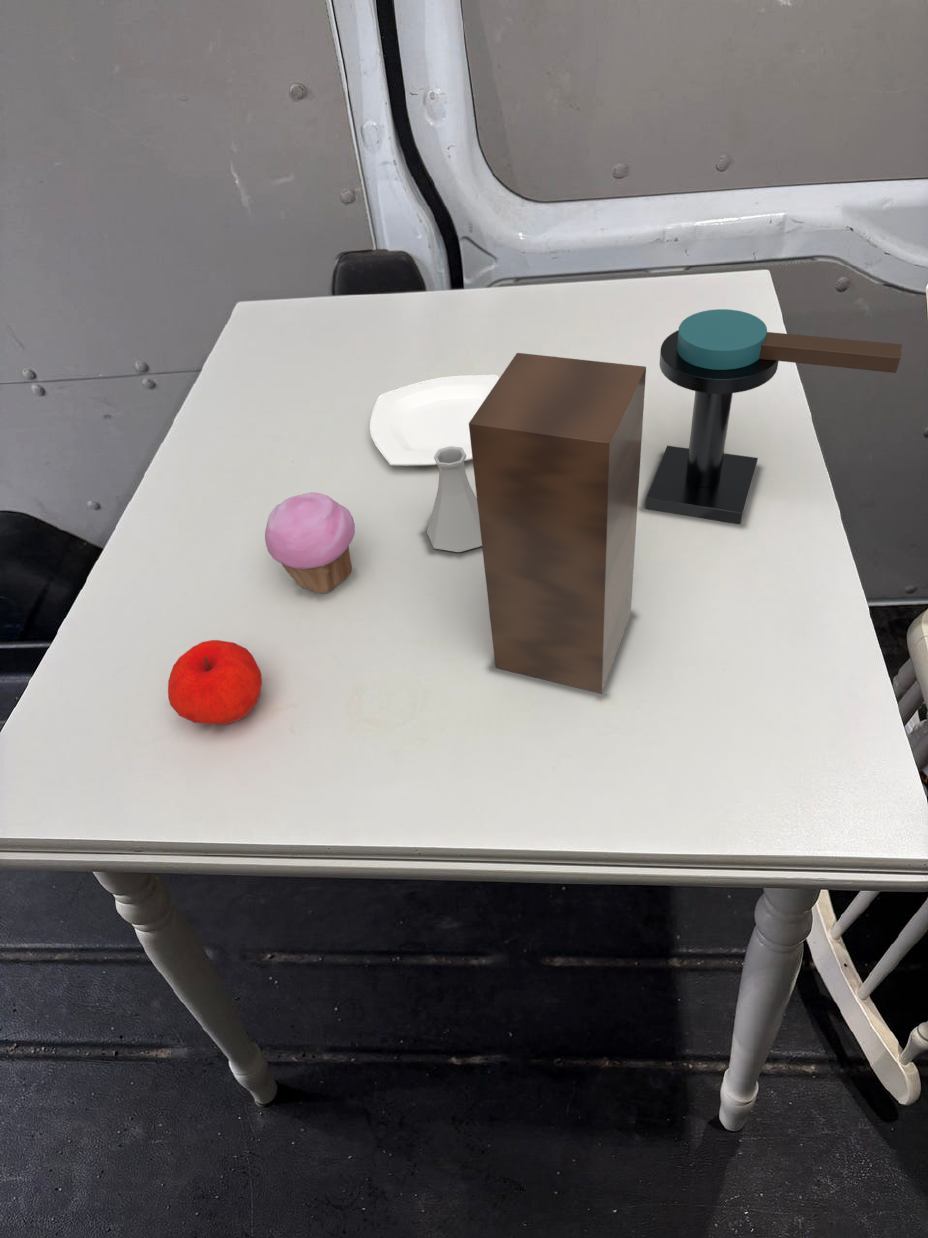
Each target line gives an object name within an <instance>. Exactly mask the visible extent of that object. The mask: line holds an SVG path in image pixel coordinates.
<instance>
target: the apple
mask: <svg viewBox="0 0 928 1238" xmlns="http://www.w3.org/2000/svg"><path fill="white" fill-rule="evenodd" d="M262 679H263V678H262V671H261V669H260V667H259V665H258V664H257V661H256V660H255V657H254V656H253V654H252V653H251V652H250V650H248V648H246V647H245V646H242V645H240V644H237V643H236V642H234V641H233V642H232V641H226V640H219V639H212V640H207V641H206V640H205V641H202V642H199V643H197V644H196V645H193V646H192V647H190V649H188V650H187V651H185V652H184V653H182V655H180V656H179V657H178V658H177V660H176V662H175V663H174V664H173V665H172V668H171V671H170V673H169V677H168V683H167V699H168V701H169V705H170V706H171V708H172V709H173V711H175V713H176V714H177V715H178V716H179V717H182V718H183V719H186V720H187V721H190V722H192V723H193V724H202V725H203V724H205V725H216V726H217V725H226V724H232V723H234V722H237V721H240V720H242V719H243V718H244V717H246V716H247V715H248V714H249V713H250V712H251V711H252V710H253V708H254V707H255V706H256V704H257V703H258V700H259V698H260V696H261V692H262V691H261V690H262V683H263V681H262Z"/></svg>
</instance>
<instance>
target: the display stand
mask: <svg viewBox="0 0 928 1238" xmlns="http://www.w3.org/2000/svg"><path fill="white" fill-rule="evenodd" d="M678 330H679V329H678ZM678 330H675V331H674V332H672V333H670V334H669V335H668V336H666V338H665V339H664V340H663V341H662V343H661V346H660V351H659V369H660V371H661V373H662V374H663V376H664V377H665V378H666V379H667V380H668V381H670V382H671V383H672V384H675V385H677V386H678V387H680V388H683V389H686V390H690V391H693V392H694V400H693V406H692V407H693V408H692V417H691V426H690V436H689V444H688V447H683V446H674V445H666V447H665V449H664V452H663V455H662V457H661V460H660V461H659V463H658V467H657V470H656V472H655V474H654V477H653V479H652V482H651V485H650V487H649V490H648V492H647V495H646V497H645V505H644V506H645V509H646V510H652V511H657V512H662V513H663V512H664V513H670V514H675V515H683V516H688V517H692V518H693V517H694V518H700V519H706V520H712V521H718V522H723V523H730V524H736V525H742V521H743V518H744V514H745V510H746V506H747V503H748V499H749V496H750V493H751V488H752V485H753V481H754V477H755V474H756V470H757V465H758V460H759V457H754V456H748V455H739V454H738V455H737V454H732V453H726V452H725V449H726V443H727V436H728V428H729V421H730V415H731V408H732V401H733V394H736V393H742V392H747V391H750V390H753V389H756V388H758V387H761V386H763V385H764V384H767V383H768V382H770V380H771V379H772V378H773V377H774V375H775V374H776V373H777V371H778V366H779V362H780V361H774V360H764V359H758V360H757V361H756V362H754V363H752V364H750V365H748V366H745V367H742V368H737V369H730V370H712V369H705V368H701V367H697V366H694V365H692V364H690V363H688V362H686V361H685V360H683V359H682V358H681V357H680V356H679V354H678V352H677V341H678Z"/></svg>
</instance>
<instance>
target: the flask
mask: <svg viewBox="0 0 928 1238" xmlns="http://www.w3.org/2000/svg"><path fill="white" fill-rule="evenodd" d="M434 459H435V461H436V463H437V468H438V486H437V491H436V494H435V499H434V504H433V508H432V512H431V515H430V518H429V521H428V525H427V529H426V534H427V536H428V539H429V541H430V544H431V545H432V547H433V549H435V550H441V551H449V552H454V553H462V552H465V551H469V550H473V549H476V548H479V547H482V540H481V531H480V522H479V513H478V504H477V495H475V492H474V490H473V488H472V486H471V484H470V481H469V479H468V476H467V472H466V467H465V459H466V454H465V452H464V450H463V448H461V447H453V446H449V447H446V448H442V449H438V451H437V453H436V454H435V456H434Z"/></svg>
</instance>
